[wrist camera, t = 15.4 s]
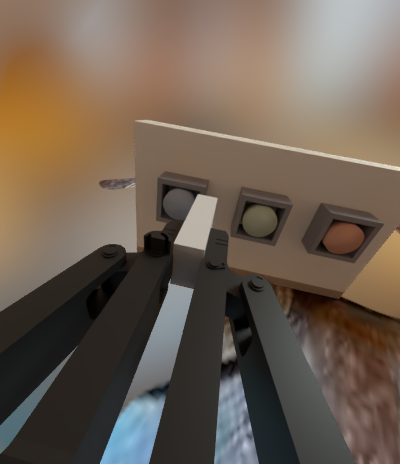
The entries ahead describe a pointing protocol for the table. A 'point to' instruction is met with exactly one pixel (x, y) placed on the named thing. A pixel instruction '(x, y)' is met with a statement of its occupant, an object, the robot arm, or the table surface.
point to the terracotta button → (342, 237)
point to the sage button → (259, 219)
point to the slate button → (179, 202)
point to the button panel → (269, 201)
